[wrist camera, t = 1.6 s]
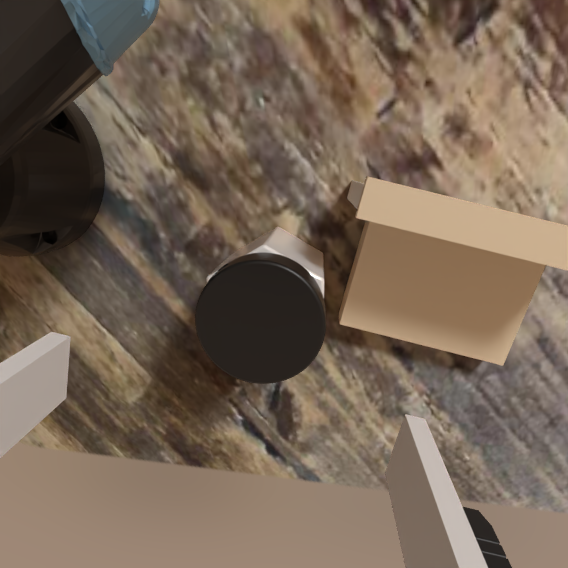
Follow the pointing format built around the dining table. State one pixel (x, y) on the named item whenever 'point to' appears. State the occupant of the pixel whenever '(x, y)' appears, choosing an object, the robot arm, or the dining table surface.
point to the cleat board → (445, 269)
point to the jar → (264, 309)
